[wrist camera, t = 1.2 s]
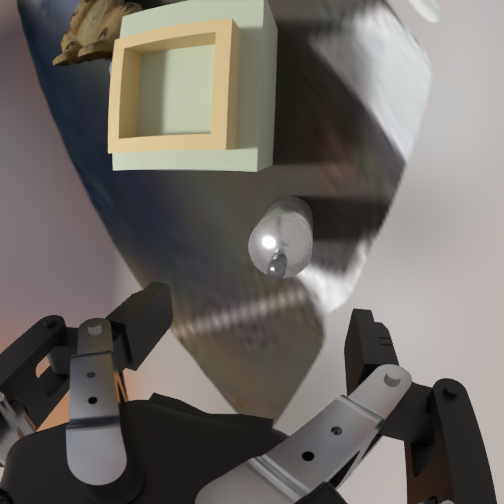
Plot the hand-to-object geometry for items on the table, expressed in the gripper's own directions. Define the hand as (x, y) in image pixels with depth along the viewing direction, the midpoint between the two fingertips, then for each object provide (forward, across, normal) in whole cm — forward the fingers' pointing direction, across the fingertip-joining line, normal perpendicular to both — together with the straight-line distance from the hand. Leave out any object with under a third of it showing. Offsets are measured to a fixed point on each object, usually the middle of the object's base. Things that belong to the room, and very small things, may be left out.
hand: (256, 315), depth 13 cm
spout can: (+18, 0, 0) cm, 18 cm away
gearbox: (+18, +10, -12) cm, 23 cm away
